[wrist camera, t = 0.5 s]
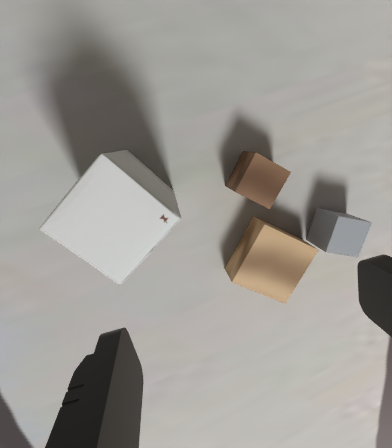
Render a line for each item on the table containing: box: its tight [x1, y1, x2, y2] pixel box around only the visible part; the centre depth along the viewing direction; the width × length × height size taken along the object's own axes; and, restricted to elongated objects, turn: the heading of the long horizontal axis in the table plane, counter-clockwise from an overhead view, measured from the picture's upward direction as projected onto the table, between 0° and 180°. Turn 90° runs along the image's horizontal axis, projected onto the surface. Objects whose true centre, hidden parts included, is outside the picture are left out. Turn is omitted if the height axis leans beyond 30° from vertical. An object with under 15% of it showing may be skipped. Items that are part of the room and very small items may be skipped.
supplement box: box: [40, 150, 181, 285], centre depth 25 cm, size 7×7×13 cm
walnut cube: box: [225, 152, 291, 209], centre depth 30 cm, size 4×4×4 cm
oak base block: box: [225, 216, 318, 303], centre depth 34 cm, size 8×8×4 cm
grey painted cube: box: [306, 208, 371, 257], centre depth 33 cm, size 4×4×4 cm
